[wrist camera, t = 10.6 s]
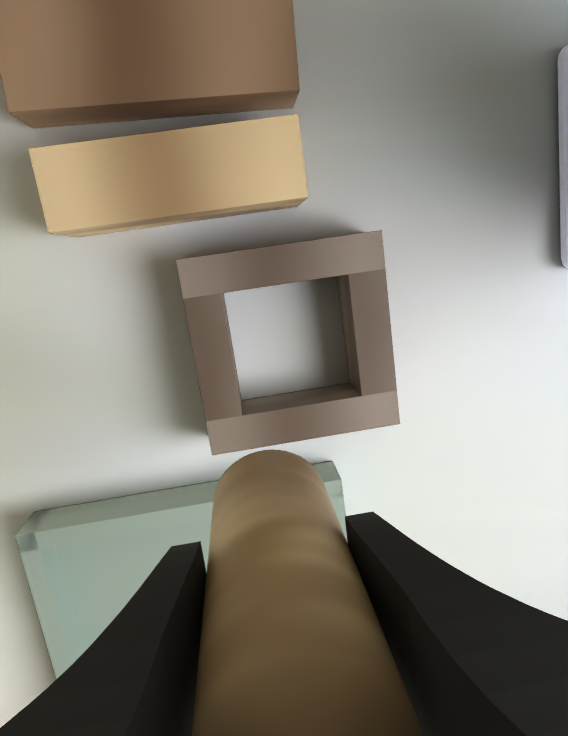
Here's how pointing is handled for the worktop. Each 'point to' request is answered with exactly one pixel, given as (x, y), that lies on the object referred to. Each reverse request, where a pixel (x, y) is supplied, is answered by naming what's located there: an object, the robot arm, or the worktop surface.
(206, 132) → the block
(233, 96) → the brown wooden board
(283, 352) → the worktop surface
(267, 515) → the dowel
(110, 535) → the tray
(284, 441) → the socket block
